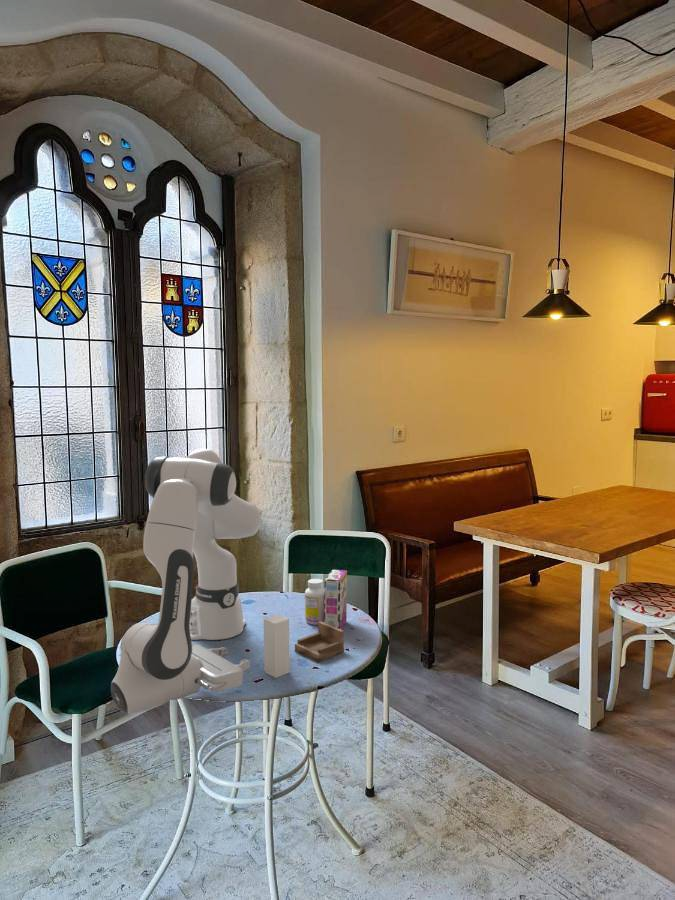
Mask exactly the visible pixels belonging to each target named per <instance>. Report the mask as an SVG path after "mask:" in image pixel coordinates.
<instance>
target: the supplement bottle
mask: <svg viewBox="0 0 675 900" xmlns="http://www.w3.org/2000/svg"><path fill="white" fill-rule="evenodd" d="M307 586H308V588H306V589H305V591H304V610H305V611H304V614H305V618H304V619H305V622H306V623H307V624H309V625H312V624H313V626H314V625H315V626H316V625H317V626H318V622H320V621H321V622H324V587H323V586H324V579H321V578H311V579H309V580H308V581H307Z"/></svg>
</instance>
